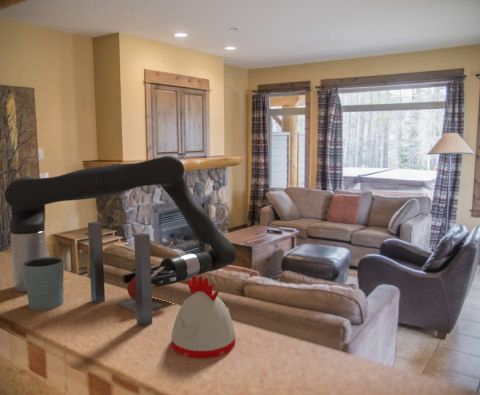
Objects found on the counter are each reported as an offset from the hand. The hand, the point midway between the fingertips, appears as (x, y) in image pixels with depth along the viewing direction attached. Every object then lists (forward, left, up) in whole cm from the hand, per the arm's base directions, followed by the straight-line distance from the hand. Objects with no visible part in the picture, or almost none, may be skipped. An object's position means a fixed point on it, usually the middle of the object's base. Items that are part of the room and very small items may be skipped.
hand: (130, 281), depth 117 cm
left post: (-11, -3, -7) cm, 14 cm away
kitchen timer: (+29, 0, -7) cm, 30 cm away
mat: (0, +3, -7) cm, 8 cm away
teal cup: (-19, -14, -7) cm, 25 cm away
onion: (0, +3, -6) cm, 7 cm away
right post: (+11, -3, -7) cm, 14 cm away
